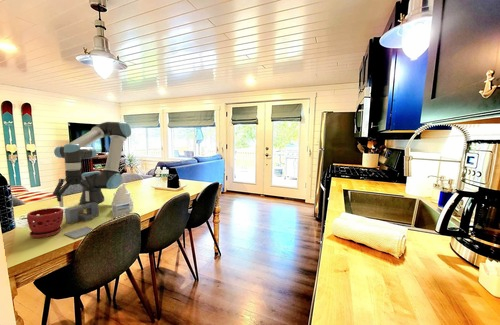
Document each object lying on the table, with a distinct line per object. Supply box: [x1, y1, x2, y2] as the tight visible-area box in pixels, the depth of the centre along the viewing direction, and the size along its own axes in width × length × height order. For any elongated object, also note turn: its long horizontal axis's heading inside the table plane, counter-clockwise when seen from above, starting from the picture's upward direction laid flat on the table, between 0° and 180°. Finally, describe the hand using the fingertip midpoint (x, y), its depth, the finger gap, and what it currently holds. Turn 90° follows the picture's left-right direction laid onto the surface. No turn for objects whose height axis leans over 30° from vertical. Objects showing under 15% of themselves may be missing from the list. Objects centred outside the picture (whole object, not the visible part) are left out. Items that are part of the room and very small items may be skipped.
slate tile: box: [63, 226, 94, 240], centre depth 109 cm, size 10×10×1 cm
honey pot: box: [111, 182, 134, 213], centre depth 144 cm, size 13×13×18 cm
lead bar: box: [78, 211, 94, 222], centre depth 127 cm, size 4×10×3 cm, turn 65°
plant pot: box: [26, 207, 64, 239], centre depth 107 cm, size 13×13×12 cm
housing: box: [64, 202, 99, 225], centre depth 127 cm, size 15×5×8 cm, turn 155°
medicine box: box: [112, 203, 131, 218], centre depth 130 cm, size 8×4×9 cm, turn 148°
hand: (75, 203), depth 129 cm, fingers open, 13 cm apart
